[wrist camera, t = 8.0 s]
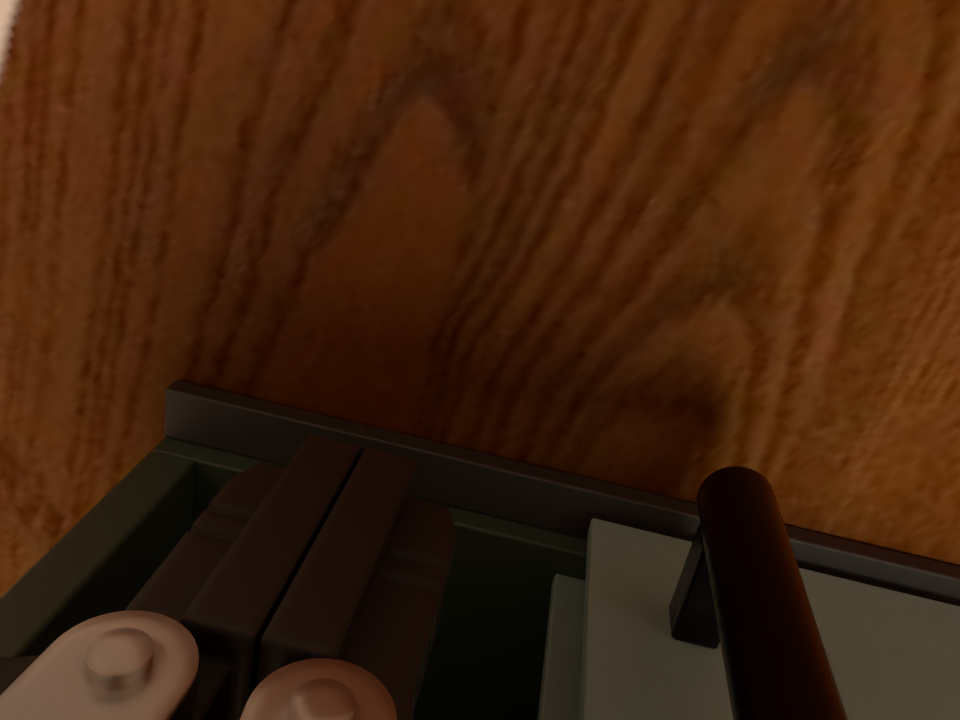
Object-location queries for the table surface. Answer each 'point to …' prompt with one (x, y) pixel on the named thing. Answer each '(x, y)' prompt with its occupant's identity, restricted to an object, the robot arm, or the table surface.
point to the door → (752, 626)
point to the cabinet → (474, 568)
